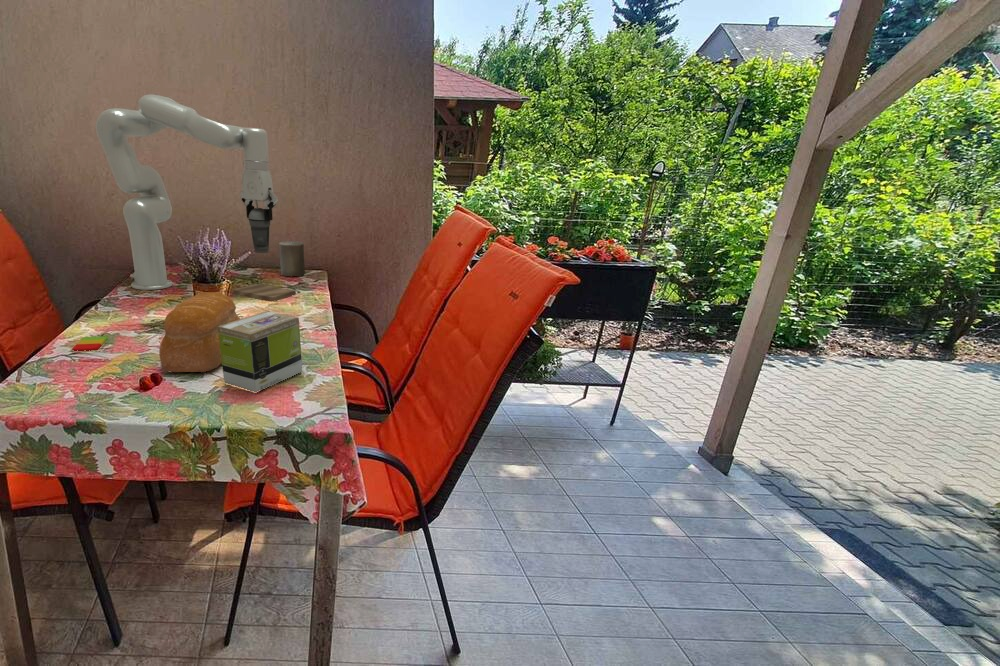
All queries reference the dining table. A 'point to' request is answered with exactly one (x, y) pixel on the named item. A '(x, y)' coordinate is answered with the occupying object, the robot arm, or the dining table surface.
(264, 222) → the beverage cup
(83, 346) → the popsicle
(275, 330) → the tea box
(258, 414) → the dining table surface
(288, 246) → the pillar candle
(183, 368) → the bread
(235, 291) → the walnut board
